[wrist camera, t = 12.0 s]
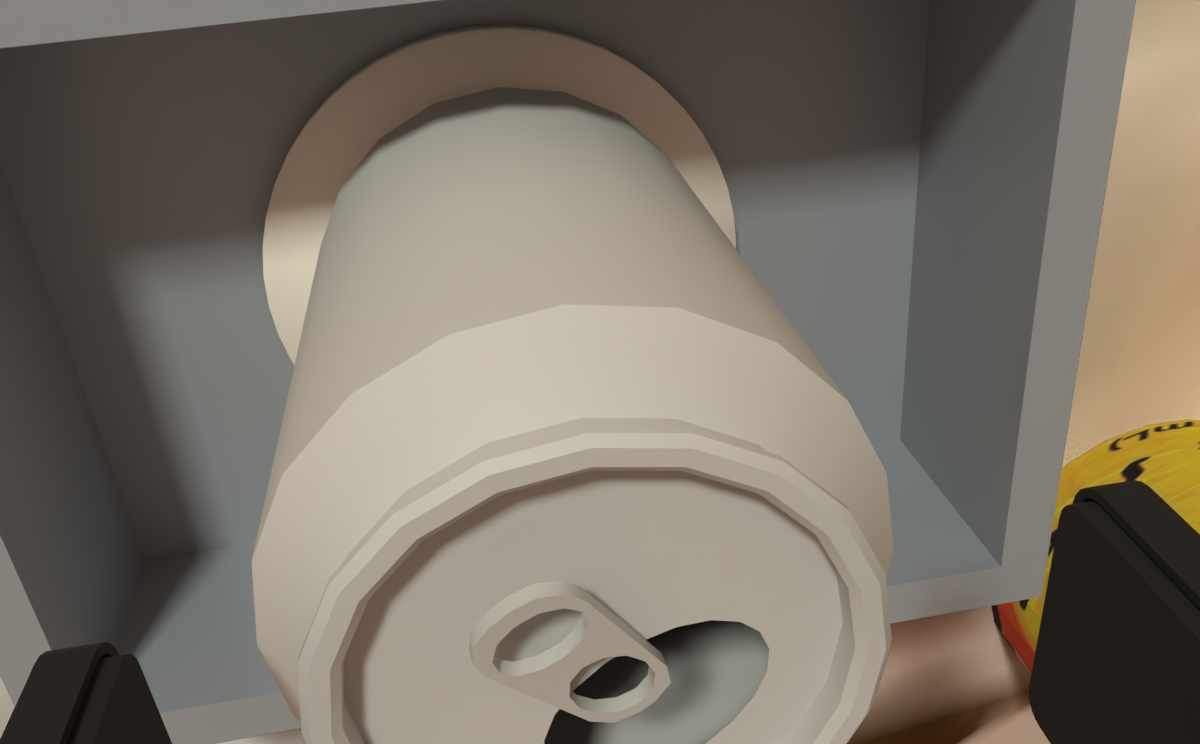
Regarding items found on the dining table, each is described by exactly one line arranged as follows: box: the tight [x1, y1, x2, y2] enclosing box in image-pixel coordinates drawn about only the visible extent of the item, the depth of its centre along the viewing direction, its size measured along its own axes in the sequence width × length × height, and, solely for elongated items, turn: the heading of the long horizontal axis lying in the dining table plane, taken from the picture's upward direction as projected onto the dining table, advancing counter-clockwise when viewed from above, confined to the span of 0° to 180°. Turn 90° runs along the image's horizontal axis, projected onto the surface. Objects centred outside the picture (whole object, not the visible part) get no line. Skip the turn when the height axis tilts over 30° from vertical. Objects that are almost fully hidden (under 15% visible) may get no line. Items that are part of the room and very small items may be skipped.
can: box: [252, 87, 894, 744], centre depth 16 cm, size 8×8×12 cm
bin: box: [0, 0, 1136, 744], centre depth 20 cm, size 20×14×6 cm
